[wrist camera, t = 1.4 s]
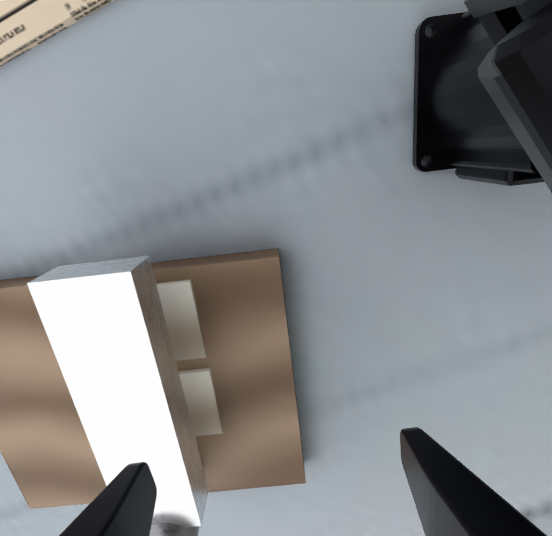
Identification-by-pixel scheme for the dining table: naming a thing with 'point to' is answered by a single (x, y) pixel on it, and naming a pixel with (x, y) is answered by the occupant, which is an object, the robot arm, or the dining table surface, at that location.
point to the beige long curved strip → (38, 22)
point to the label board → (193, 373)
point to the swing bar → (125, 380)
